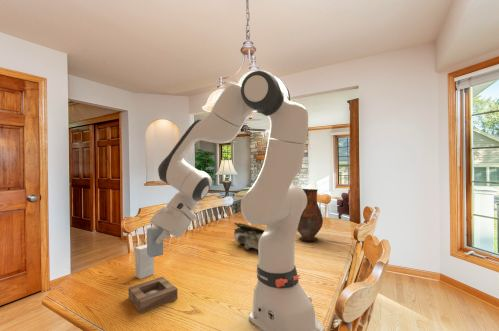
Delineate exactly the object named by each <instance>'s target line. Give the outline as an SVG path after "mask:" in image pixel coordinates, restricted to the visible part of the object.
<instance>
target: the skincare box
mask: <svg viewBox="0 0 499 331" xmlns="http://www.w3.org/2000/svg"><path fill="white" fill-rule="evenodd" d="M154 258H155V257H152V258H151V257H150V256H149V255H147V243H146V244H142V245H139V246H136V247H134V267H135V268H134V269H135V272H134V273H135V277H136V278H138V279H139V280H142V279H144V278H147V277H149V276H150V277H151V276H152V275H155V266H154V265H155V264H154V263H155V259H154Z"/></svg>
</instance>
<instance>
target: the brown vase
mask: <svg viewBox="0 0 499 331" xmlns="http://www.w3.org/2000/svg"><path fill="white" fill-rule="evenodd" d="M302 189H303V190H304V192H305V193H306V196H307V205H306V208H305V209H304V211H303V213H302V215H301V217H300V221H299V225H298V228H297V232H298V234H300V237H299V238H298V239H299V241H301V242H303V243H314V242H317V241H318V237H317V236H316V235H317V234H318V233H319V232H320V230H321V228H322V227H323V223H324V220H323V215H322V212H321V209H320V207H319V203H318V191H319V189H314V188H313V189H312V188H309V189H308V188H302Z"/></svg>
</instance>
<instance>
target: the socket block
mask: <svg viewBox="0 0 499 331" xmlns="http://www.w3.org/2000/svg"><path fill="white" fill-rule="evenodd" d="M128 299H129V301H131V302H132V304H133V306H135V309H137V310H138V311H139V313H140V314H143V313H145V312H149V311H150V310H152V309H153V310H154V309H156V308H158V307H160V306H163V305H165V304H167V303H171V302H173V301H176V300H177V299H178V288H177V286H175V285H174V284H172V283H171V282H170V281H168V280H167V279H166V278H165V277H164V276H160V277H157V278H153V279H151V280H148V281H144V282H142V283H138V284H136V285H132V286H129V287H128Z"/></svg>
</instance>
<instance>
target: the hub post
mask: <svg viewBox="0 0 499 331" xmlns="http://www.w3.org/2000/svg"><path fill="white" fill-rule="evenodd" d="M162 231H163V229H162V228H160V227H158V226H157V227H154V226H152V227H147V228H146V244H147V255H149V256H150V257H151V258H152V257H154V258H156V257H161V256H163V255H164V240H162V241H161V243H160V244H157V243H156V242H155V241H154V240H155V239H156V237H157V236H159V235H161V234H162Z"/></svg>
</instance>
